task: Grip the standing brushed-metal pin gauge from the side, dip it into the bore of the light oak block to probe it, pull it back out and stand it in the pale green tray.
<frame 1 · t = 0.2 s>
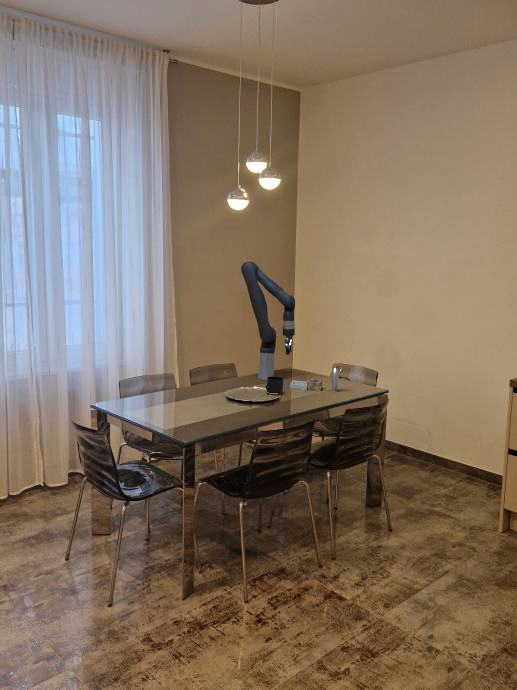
hand: (288, 353, 387), 18 cm above the table, tool pointing down, fingers open, 8 cm apart
mug: (273, 394, 359), on the table
pin gauge: (334, 390, 370), on the table
tray: (299, 387, 375), on the table
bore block: (314, 389, 373), on the table
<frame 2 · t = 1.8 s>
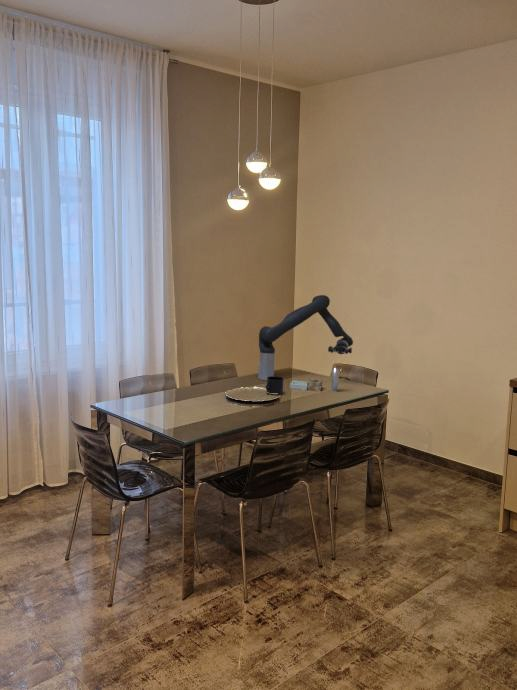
hand: (338, 351, 377), 22 cm above the table, tool horizontal, fingers open, 8 cm apart
nothing on the table moved.
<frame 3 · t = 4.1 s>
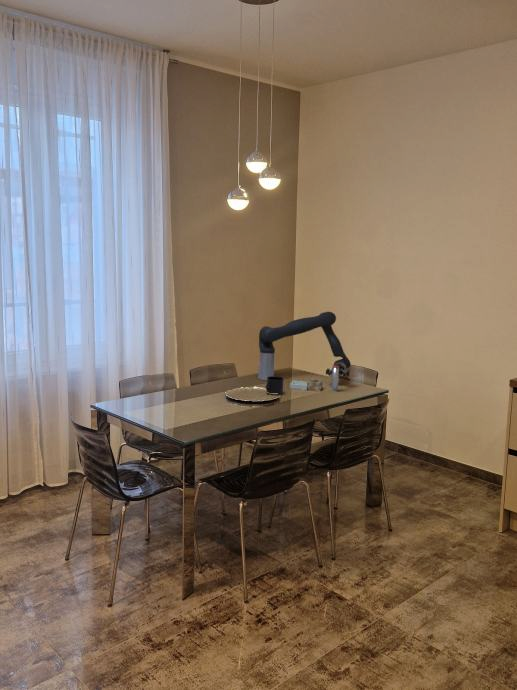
hand: (336, 374, 375), 8 cm above the table, tool horizontal, fingers open, 8 cm apart
nothing on the table moved.
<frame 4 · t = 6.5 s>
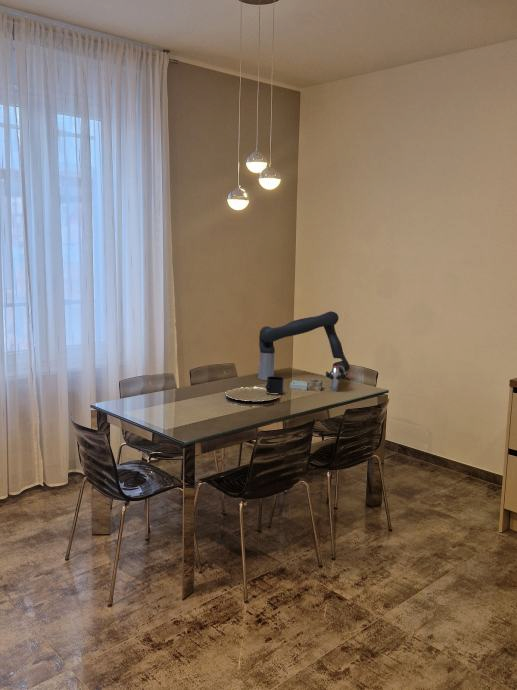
hand: (334, 378, 366), 9 cm above the table, tool horizontal, fingers closed on pin gauge, 3 cm apart
pin gauge: (334, 390, 370), on the table, touching gripper
everything else where it was.
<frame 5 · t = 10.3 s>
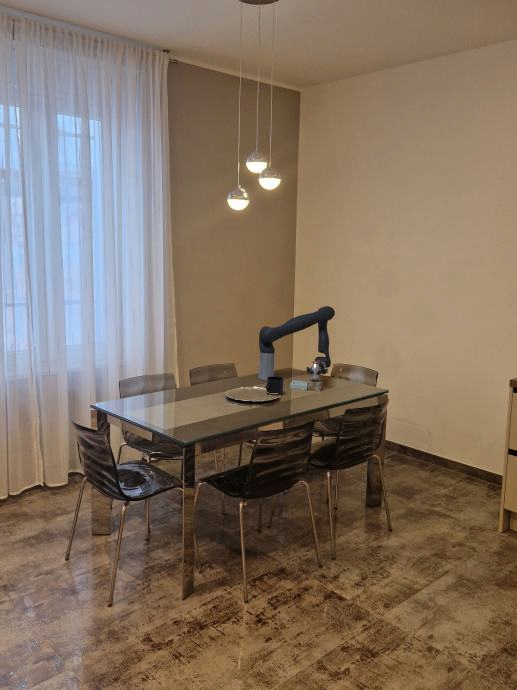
hand: (314, 373, 369), 10 cm above the table, tool horizontal, fingers closed on pin gauge, 3 cm apart
pin gauge: (314, 386, 373), point 2 cm above the table, touching gripper
everything else where it was.
when the fingers open (10 cm above the table, at t = 14.4 s): pin gauge stays where it is, resting on tray.
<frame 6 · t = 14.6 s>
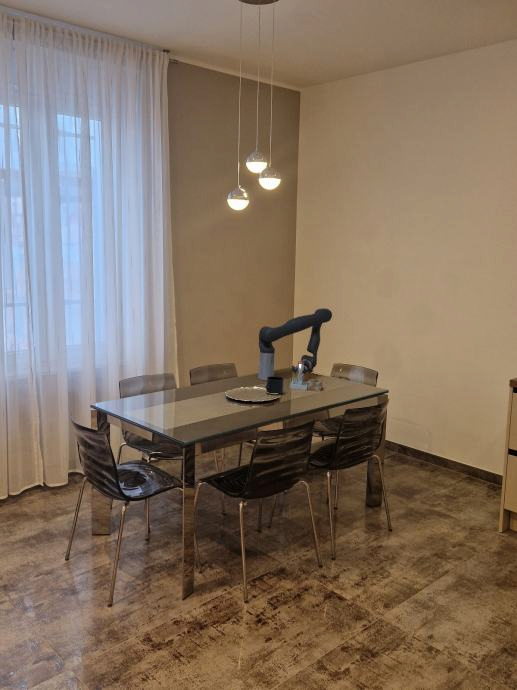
hand: (299, 371, 371), 10 cm above the table, tool horizontal, fingers open, 5 cm apart
pin gauge: (299, 386, 375), point 1 cm above the table, touching tray
everything else where it was.
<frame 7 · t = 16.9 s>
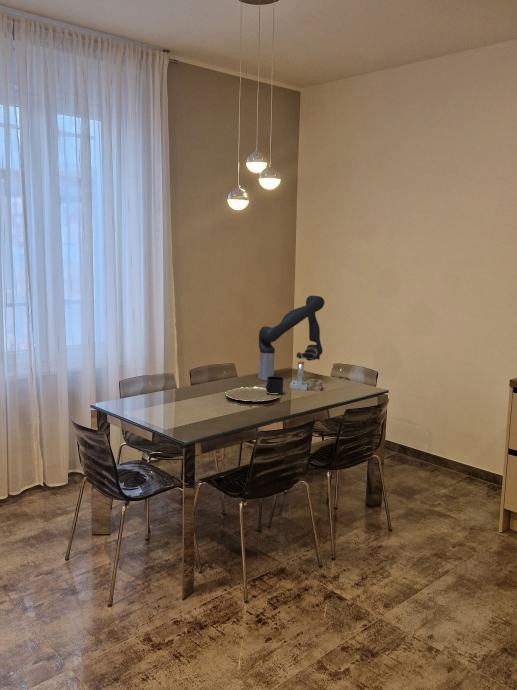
hand: (306, 357, 382), 16 cm above the table, tool horizontal, fingers open, 8 cm apart
nothing on the table moved.
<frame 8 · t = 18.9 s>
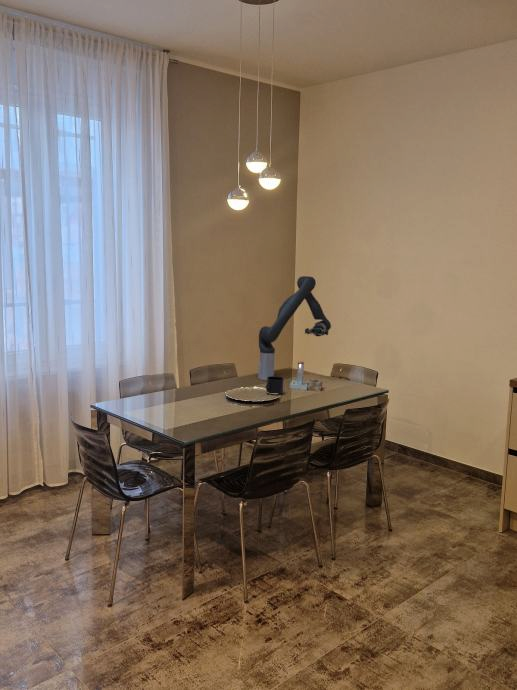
hand: (315, 333, 379), 32 cm above the table, tool horizontal, fingers open, 8 cm apart
nothing on the table moved.
at the end: pin gauge inside the target area on the tray (0.2 cm from its centre), point 0.6 cm above the tray's base; the gripper is holding nothing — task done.
